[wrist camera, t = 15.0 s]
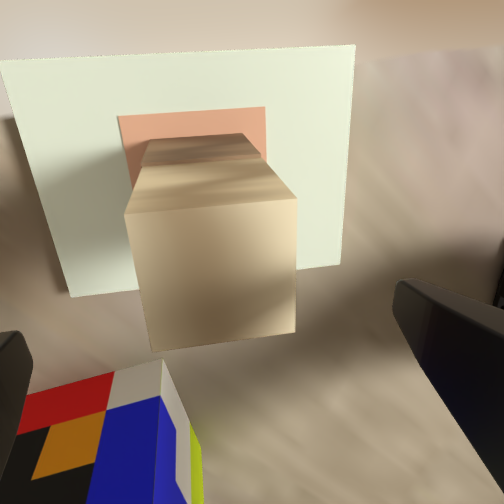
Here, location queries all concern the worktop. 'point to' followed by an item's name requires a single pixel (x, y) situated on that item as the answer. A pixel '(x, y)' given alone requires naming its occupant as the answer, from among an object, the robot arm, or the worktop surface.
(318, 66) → the plate
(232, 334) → the maple block
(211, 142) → the walnut block
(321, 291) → the worktop surface
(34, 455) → the puzzle toy
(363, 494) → the worktop surface
